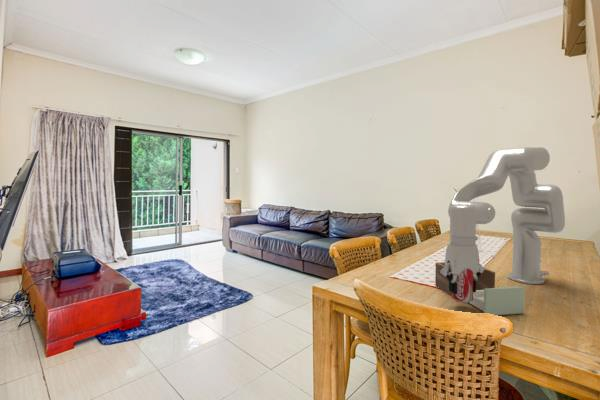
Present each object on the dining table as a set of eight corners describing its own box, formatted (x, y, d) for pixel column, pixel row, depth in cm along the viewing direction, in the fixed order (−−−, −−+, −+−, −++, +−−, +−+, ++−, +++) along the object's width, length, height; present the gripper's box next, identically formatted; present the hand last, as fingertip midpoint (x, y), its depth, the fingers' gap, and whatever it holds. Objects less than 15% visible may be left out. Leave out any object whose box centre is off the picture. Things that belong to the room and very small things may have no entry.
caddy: (466, 284, 120) (466, 261, 119) (494, 298, 105) (495, 272, 104) (435, 286, 118) (435, 262, 117) (459, 301, 103) (460, 274, 102)
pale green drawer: (488, 295, 107) (489, 272, 107) (523, 313, 92) (524, 287, 92) (455, 297, 106) (456, 274, 105) (485, 316, 91) (486, 289, 90)
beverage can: (476, 304, 93) (476, 269, 92) (455, 303, 95) (455, 269, 94) (468, 296, 99) (468, 263, 98) (449, 295, 101) (449, 263, 100)
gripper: (477, 236, 100) (477, 285, 101) (432, 240, 98) (432, 289, 100) (494, 241, 93) (494, 294, 94) (445, 245, 91) (445, 298, 92)
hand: (462, 291), depth 97 cm, fingers closed on beverage can, 6 cm apart
